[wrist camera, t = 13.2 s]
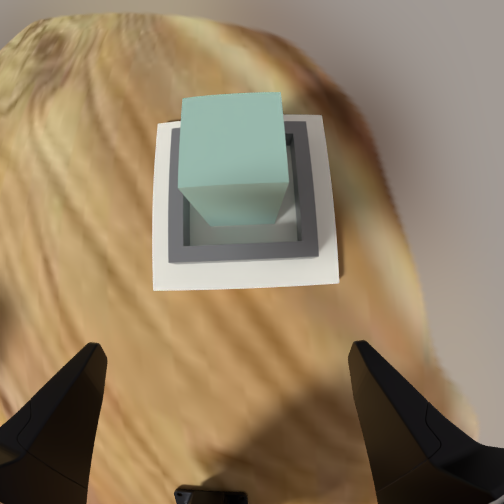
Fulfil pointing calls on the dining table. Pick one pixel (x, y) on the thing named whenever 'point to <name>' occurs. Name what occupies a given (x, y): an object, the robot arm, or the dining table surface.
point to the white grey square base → (248, 236)
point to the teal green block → (233, 157)
